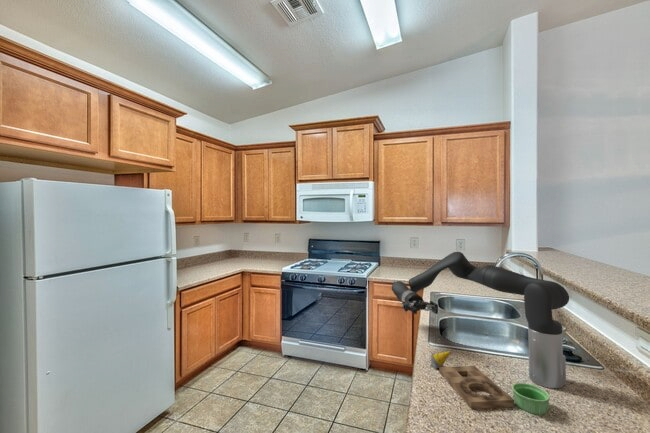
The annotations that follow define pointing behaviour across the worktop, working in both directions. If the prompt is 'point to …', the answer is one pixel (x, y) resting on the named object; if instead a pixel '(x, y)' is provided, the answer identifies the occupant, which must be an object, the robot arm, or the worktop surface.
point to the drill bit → (439, 359)
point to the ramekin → (531, 398)
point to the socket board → (475, 387)
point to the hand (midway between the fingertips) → (426, 311)
